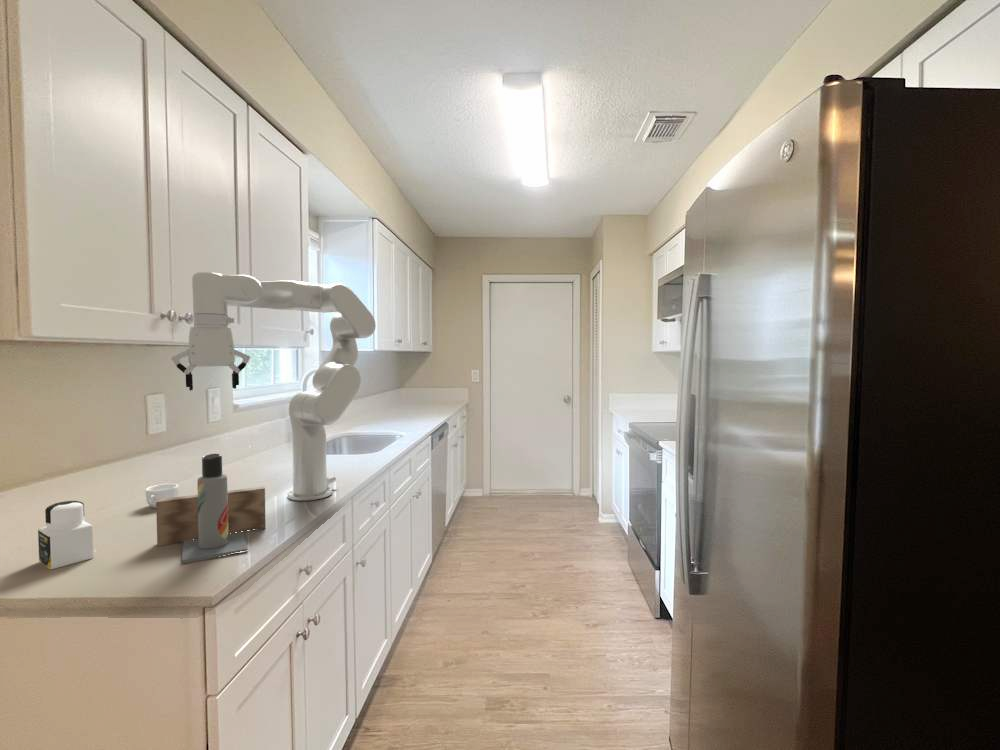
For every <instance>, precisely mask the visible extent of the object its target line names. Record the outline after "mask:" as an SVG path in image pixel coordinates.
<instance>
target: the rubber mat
mask: <svg viewBox="0 0 1000 750" xmlns="http://www.w3.org/2000/svg"><path fill="white" fill-rule="evenodd" d="M244 533H245V532H237V533H231V534H228V543H227V544H226V545H224V546H222V547H218V548H214V549H202V548H200V547H199V539H194V540H188V541H183V542H182V543H183V544H182V556H181V557H182V558H181V564H182V565H186V564H189V563H190V562H191V563H195V562H202V561H207V560H211V558H213V559H216V558H215V557H218V558H220V557H219V556H223V555H228V554H231V553H235V552H240V551H246V550H248V549H249V547H248V544H247V541H246V536H245V534H244ZM248 551H249V550H248ZM206 559H207V560H206ZM185 563H186V564H185Z"/></svg>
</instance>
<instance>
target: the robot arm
mask: <svg viewBox="0 0 1000 750" xmlns="http://www.w3.org/2000/svg"><path fill="white" fill-rule="evenodd" d="M191 279H192V280H191V281H192V282H191V289H192V309H193V310H192V311H193V313H192V315H193V326H192V327H190V329H189V334H188V346H187V347H188V348H187V349H186V350H184V351H182V352H179V353H178V354H176V355H173V356H172V357H171V360H172V361H173V363H174V365H175V366H176V368H177V369H178V370H180V371H181V372H182V373H183V374H185V388H189V391H193V390H194V385H193V383H194V382H193V374H192V371H193V370H194V369H195V368H196V367H198V368H199V367H229V368H230V369H231V370H232V373H231V387H232V389H234V390H235V389H237V386H240V376H239V375H240V374H239V373H241V371H242V370H244V369H245V367H246V366H247V364H248V363H249V361H250V360H251V356H249V355H248V354H246V353H244V352H241V351H239V350H236V349H235V343H234V337H233V331H232V328H231V327H228V326H229V325H230V324H235V318H234V317H233V318H232V317H229V316H228V306H229V307H238V308H239V307H240V308H242V307H243V308H256V309H269V310H280V311H281V310H282V311H284V310H285V311H295V312H296V311H298V312H299V311H300V312H310V313H311V312H313V313H323V314H324V313H325V314H326V313H337V312H338V313H337V314H335V315H334V316H333V317H332V318H331V319H330V322H329V330H330V332H331V338H332V347H331V349H330V351H329V353H328V354H327V356H326V357H325V358H324V360H323V362H322V363H321V364H320V366H319V367H318V368H317V370H316V371H315V373H314V374H313V377H312V386H313V387H314V389H315V390H316V391H310V390H309V391H308V390H307V391H301V392H298V393H296V394H295V395H293V397H292V398H291V399H290V402H289V405H288V415H289V420H290V424H291V433H292V435H291V436H292V437H291V438H292V487H293V488H292V489H291V490H290V491H288V492H287V498H288V500H292V501H300V502H301V501H304V502H305V501H314V500H315V501H316V500H320V499H321V500H322V499H324V498H326V497H327V498H328V497H329V496H330V495H332V493H333V489H332V488H331V487H329V485H330V484H333V483H335V482H337V479H336V476H334V475H333V476H330V477H327V433H326V430H325V429H326V428H325V426H331V425H333V424H335V423H337V422H338V421H339V420H340V419H341V417H342V416H343V415H344V413H345V411H346V410H347V408H348V407H349V406H350V404H351V402H352V401H353V399H354V398H355V396H356V394H357V393H358V392H359V388H360V387H361V381H362V380H361V374H360V372H359V370H358V369H357V367H356V366H355V364H356V363H357V360H358V357H359V356H358V355H359V350H358V349H359V348H358V345H357V339H365V338H368V337H371V336H372V335H373V334H374V333H375V330H376V325H377V324H376V320H375V318H374V316H373V314H372V313H371V311H370V310H369V309H368V308H367V306H366V305H365V304H364V303H363V302H362V300H361V299H360V298H359V297H358V296H357V295H356V294H355V293H354V291H353V290H351V289H350V288H349V287H348V286H347V285H346V284H344V283H339V282H338V283H330V284H319V283H311V282H305V281H298V280H297V281H296V280H285V279H283V280H273V281H259V280H258V279H256V277H253V276H251V275H247V274H222V273H217V272H210V271H199V272H195V273H194V274H193V275H192V277H191ZM187 356H188V357H187ZM186 357H187V358H188V362H189V364H188V366H187V367H186V366H184V365H183V364H182V362H181V361H180V360H181V359H183V358H186ZM236 357H239V358H241V359H242V361H241V363H239V364H238V365H236V364H235V362H236V361H235V360H236Z"/></svg>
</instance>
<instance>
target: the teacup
mask: <svg viewBox="0 0 1000 750" xmlns="http://www.w3.org/2000/svg"><path fill="white" fill-rule="evenodd" d="M179 488H180V486H179V484H177V483H160V484H157V485H151V486H148V487H146V488H145V498H146V499H145V500H146V502H147V504H148V506H149V507H150V508H153V507H154V508H153V509H156V501H157V500H159V499H167V498H175V497H179V493H180V492H179V491H180V490H179Z"/></svg>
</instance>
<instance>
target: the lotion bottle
mask: <svg viewBox="0 0 1000 750" xmlns="http://www.w3.org/2000/svg"><path fill="white" fill-rule="evenodd" d="M196 482H197V495H198V531H199V547H200V548H202V549H214V548H218V547H222V546H224V545H226V544H227V543H228V491H229V490H228V475H227V474H225V473H224V474H223V456H222V455H221V454H220V453H210V454H207V455H203V456H202V457H201V476H200V477H198V478H197V481H196Z"/></svg>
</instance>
